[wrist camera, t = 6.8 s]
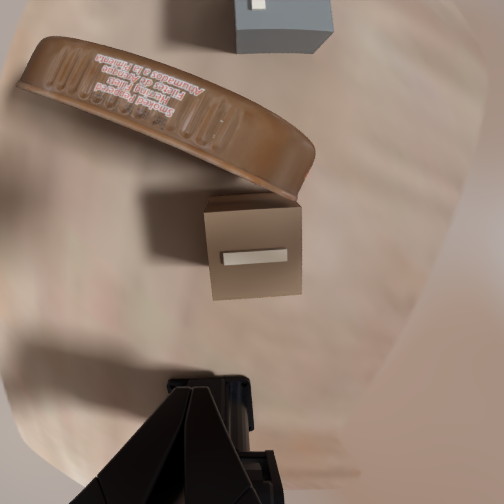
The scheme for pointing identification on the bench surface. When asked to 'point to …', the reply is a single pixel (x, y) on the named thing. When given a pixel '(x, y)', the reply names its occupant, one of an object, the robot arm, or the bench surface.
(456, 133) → the bench surface
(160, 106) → the tin
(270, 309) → the bench surface
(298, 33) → the slate number block
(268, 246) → the walnut number block
